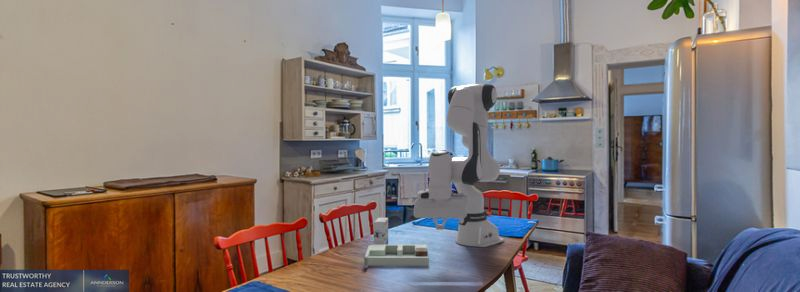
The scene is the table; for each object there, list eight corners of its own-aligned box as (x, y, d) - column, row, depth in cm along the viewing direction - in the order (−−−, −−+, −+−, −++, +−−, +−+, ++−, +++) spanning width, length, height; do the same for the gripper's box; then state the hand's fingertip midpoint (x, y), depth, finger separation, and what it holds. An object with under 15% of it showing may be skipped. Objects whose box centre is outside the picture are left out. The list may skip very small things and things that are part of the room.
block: (427, 259, 151) (427, 247, 151) (427, 263, 146) (427, 251, 146) (415, 259, 151) (415, 247, 151) (415, 263, 147) (415, 251, 146)
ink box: (378, 242, 178) (378, 217, 177) (389, 243, 177) (388, 217, 176) (373, 248, 169) (373, 221, 169) (384, 248, 168) (384, 221, 168)
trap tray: (427, 254, 160) (426, 244, 160) (428, 268, 144) (428, 257, 144) (369, 253, 161) (369, 244, 161) (364, 268, 145) (364, 257, 144)
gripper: (466, 192, 150) (466, 227, 151) (413, 192, 151) (413, 227, 151) (468, 194, 144) (468, 231, 144) (413, 194, 145) (413, 231, 145)
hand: (439, 229), depth 148 cm, fingers closed
